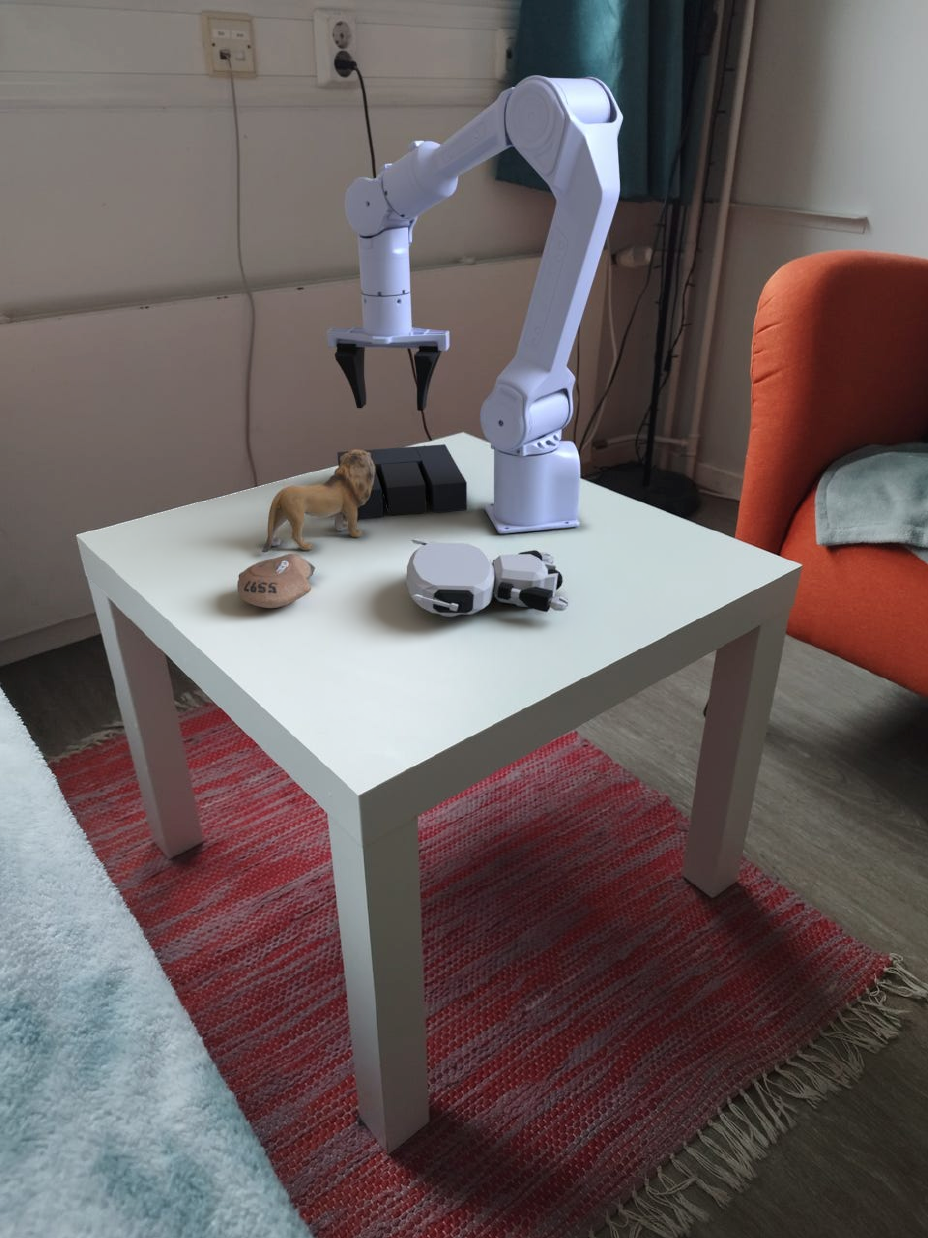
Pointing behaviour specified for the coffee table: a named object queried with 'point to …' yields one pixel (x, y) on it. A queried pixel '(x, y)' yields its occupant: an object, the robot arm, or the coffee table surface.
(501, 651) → the coffee table surface
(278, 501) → the lion figurine
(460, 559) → the robot toy
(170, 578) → the coffee table surface
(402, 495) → the black block
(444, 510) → the notched pad
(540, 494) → the robot arm
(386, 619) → the coffee table surface
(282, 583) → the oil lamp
